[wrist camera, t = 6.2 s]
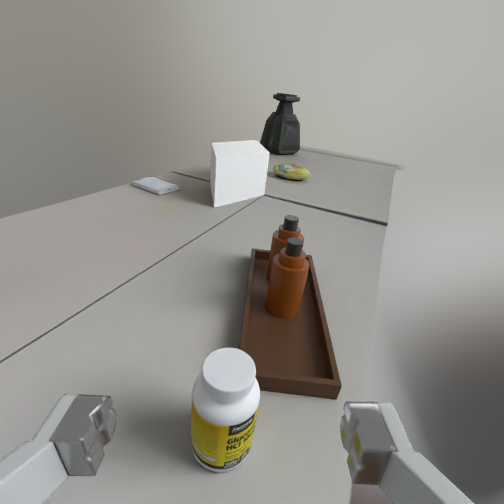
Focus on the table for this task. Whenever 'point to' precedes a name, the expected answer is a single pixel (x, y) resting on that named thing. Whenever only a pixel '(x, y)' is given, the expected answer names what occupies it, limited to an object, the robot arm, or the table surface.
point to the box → (237, 171)
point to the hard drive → (155, 185)
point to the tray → (288, 338)
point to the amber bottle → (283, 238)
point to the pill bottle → (224, 409)
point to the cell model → (291, 171)
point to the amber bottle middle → (287, 280)
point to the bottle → (282, 127)
